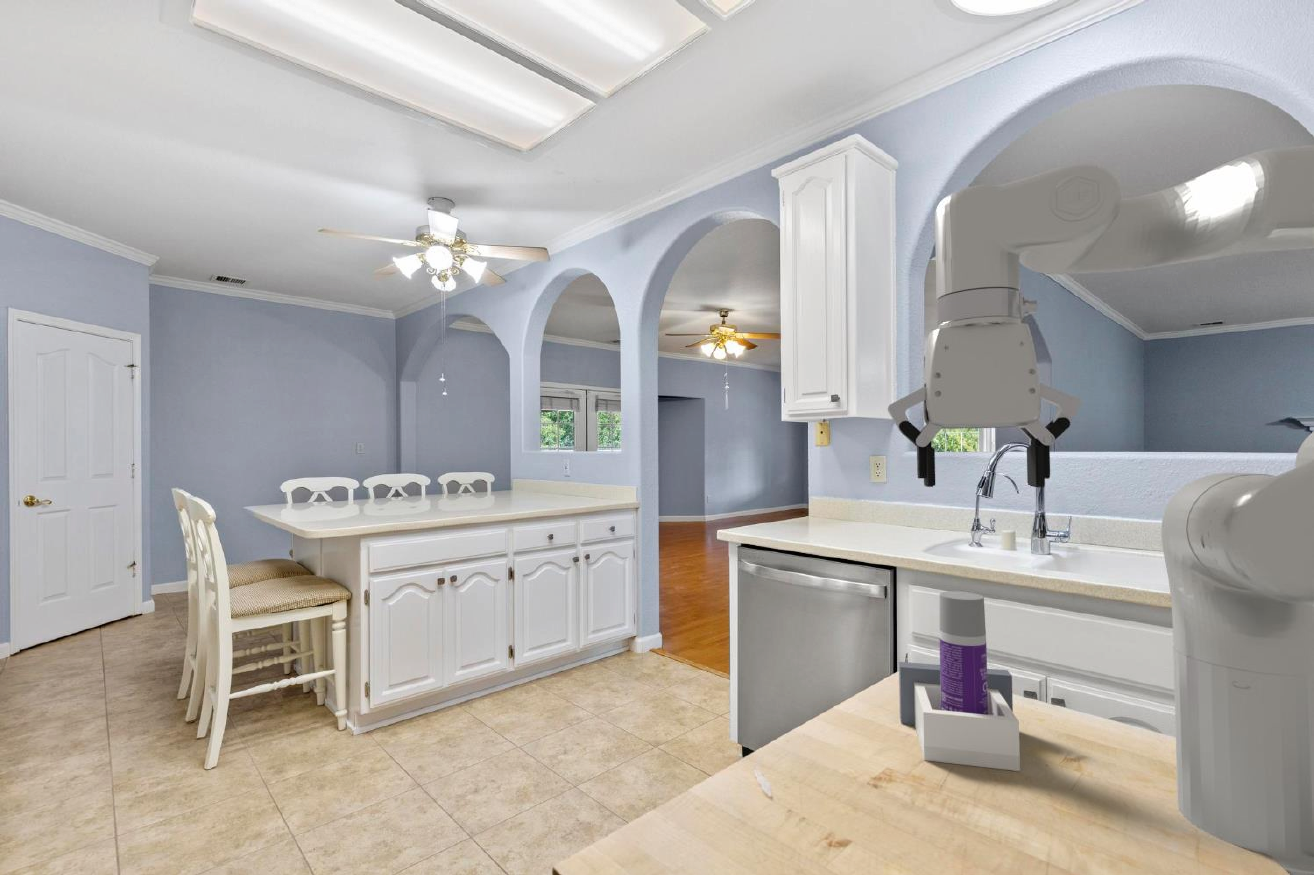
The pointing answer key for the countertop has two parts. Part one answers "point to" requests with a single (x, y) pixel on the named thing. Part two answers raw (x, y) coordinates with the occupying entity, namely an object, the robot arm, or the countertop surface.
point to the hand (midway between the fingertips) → (981, 486)
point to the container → (963, 653)
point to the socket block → (966, 731)
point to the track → (931, 675)
